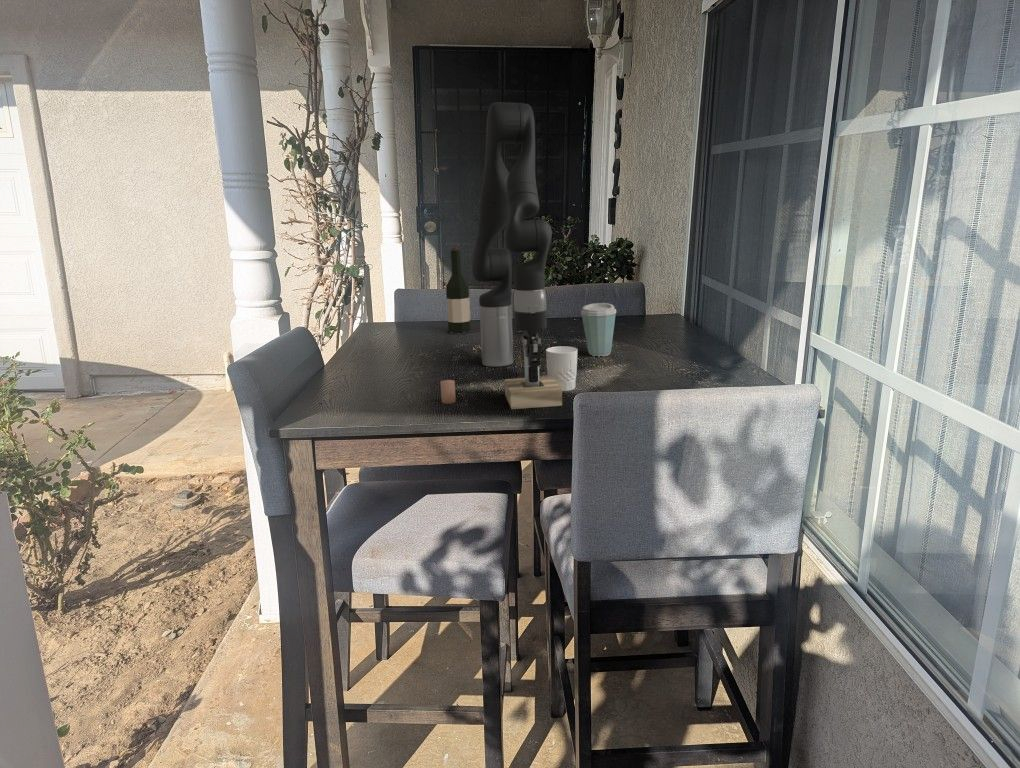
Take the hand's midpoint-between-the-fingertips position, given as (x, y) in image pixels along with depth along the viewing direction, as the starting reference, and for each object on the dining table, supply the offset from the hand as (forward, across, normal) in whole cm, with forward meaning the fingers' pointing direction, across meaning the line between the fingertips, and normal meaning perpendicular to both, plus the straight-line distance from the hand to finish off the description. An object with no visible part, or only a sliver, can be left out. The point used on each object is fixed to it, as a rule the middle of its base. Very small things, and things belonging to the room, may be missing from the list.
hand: (532, 379), depth 170 cm
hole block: (+5, 0, 0) cm, 5 cm away
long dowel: (+3, 0, 0) cm, 3 cm away
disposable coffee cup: (+5, -43, +27) cm, 51 cm away
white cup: (+5, -9, +9) cm, 14 cm away
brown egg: (+5, -4, -20) cm, 21 cm away
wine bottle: (+5, -92, -12) cm, 93 cm away
